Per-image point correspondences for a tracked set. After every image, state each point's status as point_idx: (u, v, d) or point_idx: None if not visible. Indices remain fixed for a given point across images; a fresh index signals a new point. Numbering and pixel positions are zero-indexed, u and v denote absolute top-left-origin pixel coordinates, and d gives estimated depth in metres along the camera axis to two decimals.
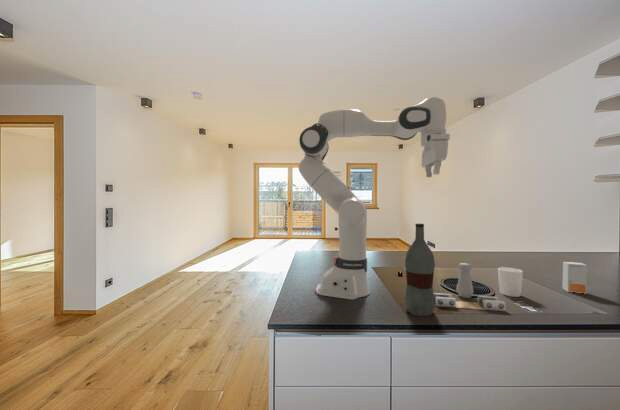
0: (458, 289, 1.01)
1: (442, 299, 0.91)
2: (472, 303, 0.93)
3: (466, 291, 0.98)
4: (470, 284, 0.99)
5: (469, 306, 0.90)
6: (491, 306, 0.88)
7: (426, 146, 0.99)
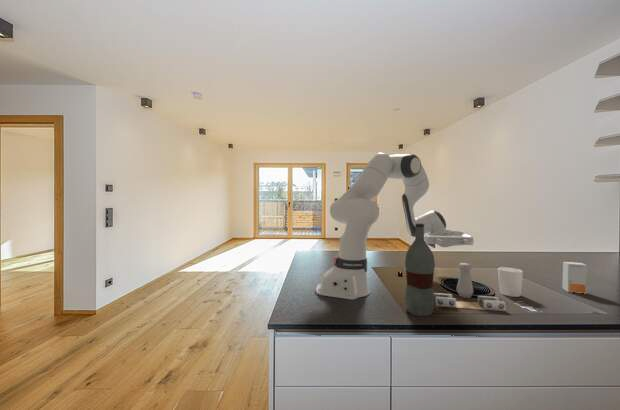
0: (458, 289, 1.01)
1: (442, 299, 0.91)
2: (472, 303, 0.93)
3: (466, 291, 0.98)
4: (470, 284, 0.99)
5: (469, 306, 0.90)
6: (491, 306, 0.88)
7: (448, 233, 1.24)
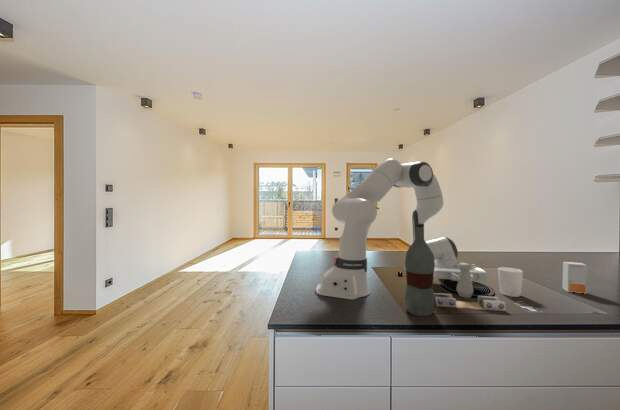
0: (458, 289, 1.01)
1: (442, 299, 0.91)
2: (472, 303, 0.93)
3: (466, 291, 0.98)
4: (470, 284, 0.99)
5: (469, 306, 0.90)
6: (491, 306, 0.88)
7: (458, 265, 1.11)
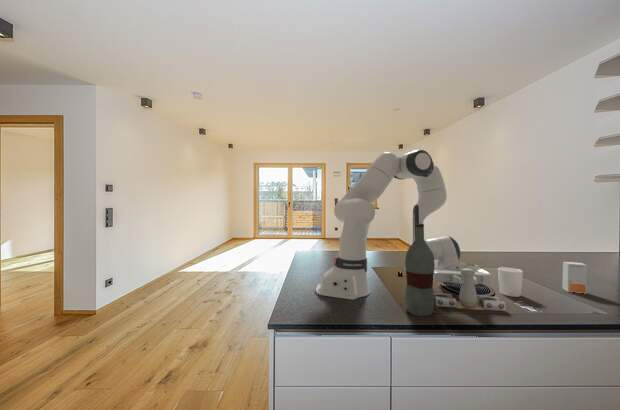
0: (460, 297, 0.91)
1: (442, 299, 0.91)
2: None
3: (470, 299, 0.89)
4: (474, 292, 0.89)
5: None
6: (491, 306, 0.88)
7: (460, 266, 1.02)
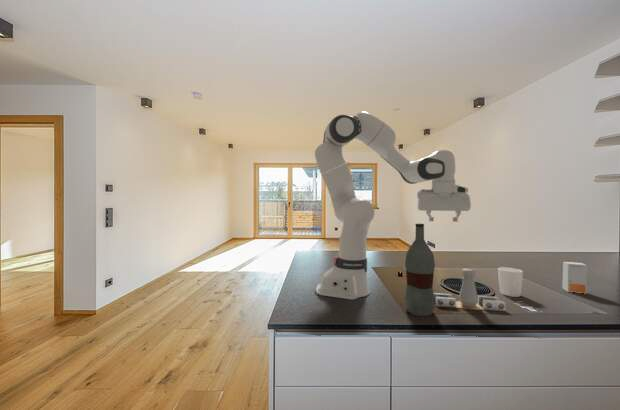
0: (461, 297, 0.91)
1: (442, 299, 0.91)
2: None
3: (470, 299, 0.89)
4: (474, 292, 0.89)
5: None
6: (491, 306, 0.88)
7: (448, 195, 1.06)
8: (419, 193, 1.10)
